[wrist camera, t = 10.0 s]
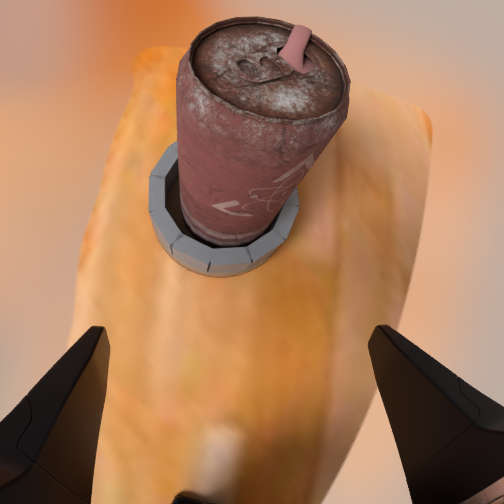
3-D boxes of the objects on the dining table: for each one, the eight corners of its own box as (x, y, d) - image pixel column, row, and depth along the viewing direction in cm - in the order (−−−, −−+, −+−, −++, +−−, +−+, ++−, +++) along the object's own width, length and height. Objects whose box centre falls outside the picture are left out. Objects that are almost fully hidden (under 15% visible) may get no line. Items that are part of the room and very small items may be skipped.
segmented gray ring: (254, 301, 22) (265, 296, 18) (127, 238, 21) (116, 222, 18) (303, 186, 25) (319, 165, 21) (192, 134, 24) (194, 107, 21)
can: (278, 186, 23) (365, 45, 10) (253, 265, 21) (350, 161, 8) (202, 159, 23) (223, -6, 9) (168, 235, 21) (140, 88, 7)
